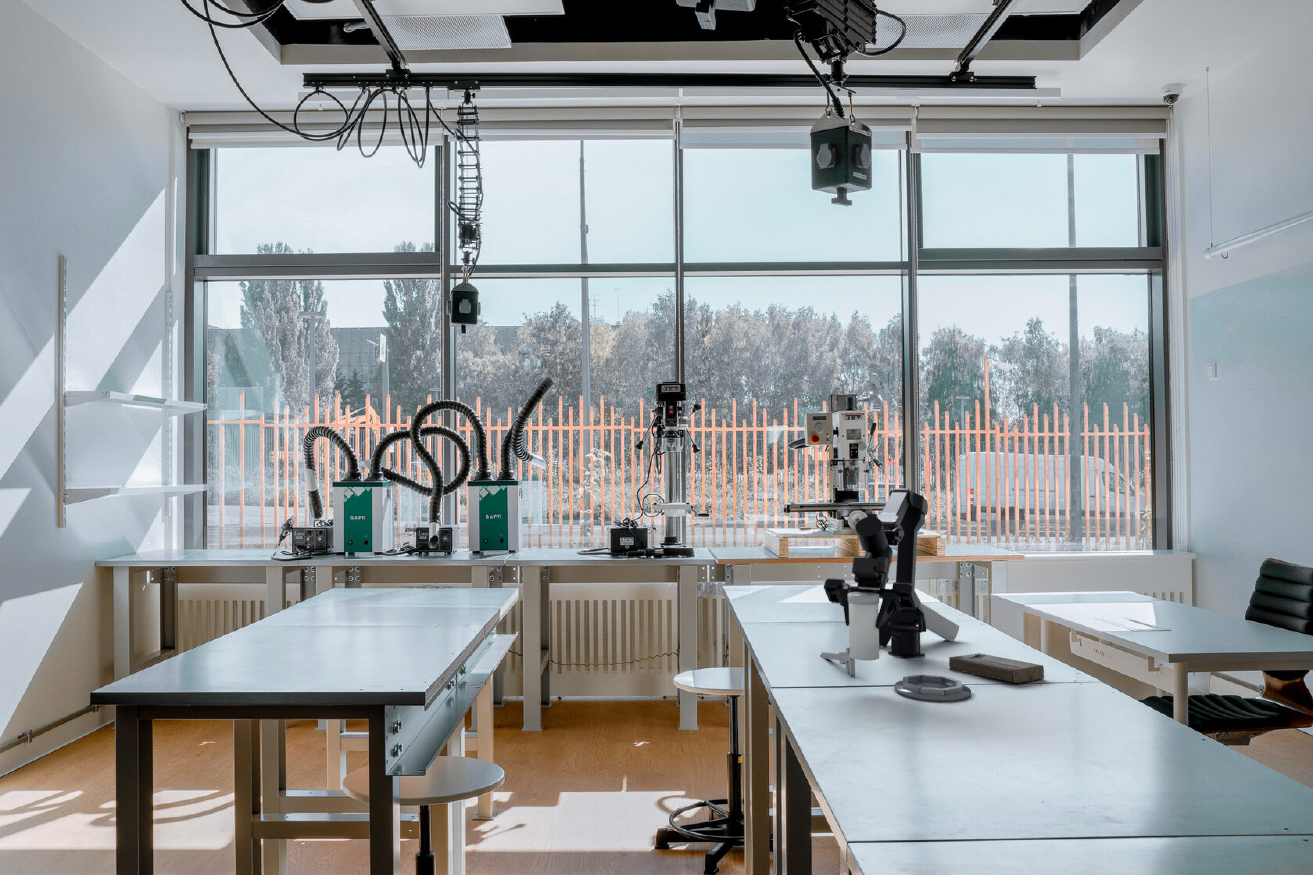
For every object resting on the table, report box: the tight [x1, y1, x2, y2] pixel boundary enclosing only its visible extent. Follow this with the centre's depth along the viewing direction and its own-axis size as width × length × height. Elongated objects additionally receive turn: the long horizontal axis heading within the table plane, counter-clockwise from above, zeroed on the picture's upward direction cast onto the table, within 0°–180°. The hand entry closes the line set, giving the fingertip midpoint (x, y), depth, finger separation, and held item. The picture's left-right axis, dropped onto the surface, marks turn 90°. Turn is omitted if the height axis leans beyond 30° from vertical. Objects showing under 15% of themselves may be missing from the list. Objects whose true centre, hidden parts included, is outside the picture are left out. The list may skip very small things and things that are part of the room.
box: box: [948, 652, 1045, 684], centre depth 184 cm, size 11×17×3 cm, turn 29°
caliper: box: [819, 647, 856, 677], centre depth 193 cm, size 20×1×6 cm, turn 8°
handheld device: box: [879, 588, 960, 648], centre depth 216 cm, size 4×22×15 cm, turn 105°
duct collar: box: [893, 674, 972, 703], centre depth 170 cm, size 15×15×2 cm
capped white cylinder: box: [848, 592, 880, 661], centre depth 173 cm, size 6×6×13 cm
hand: (861, 626), depth 171 cm, fingers closed on capped white cylinder, 6 cm apart
